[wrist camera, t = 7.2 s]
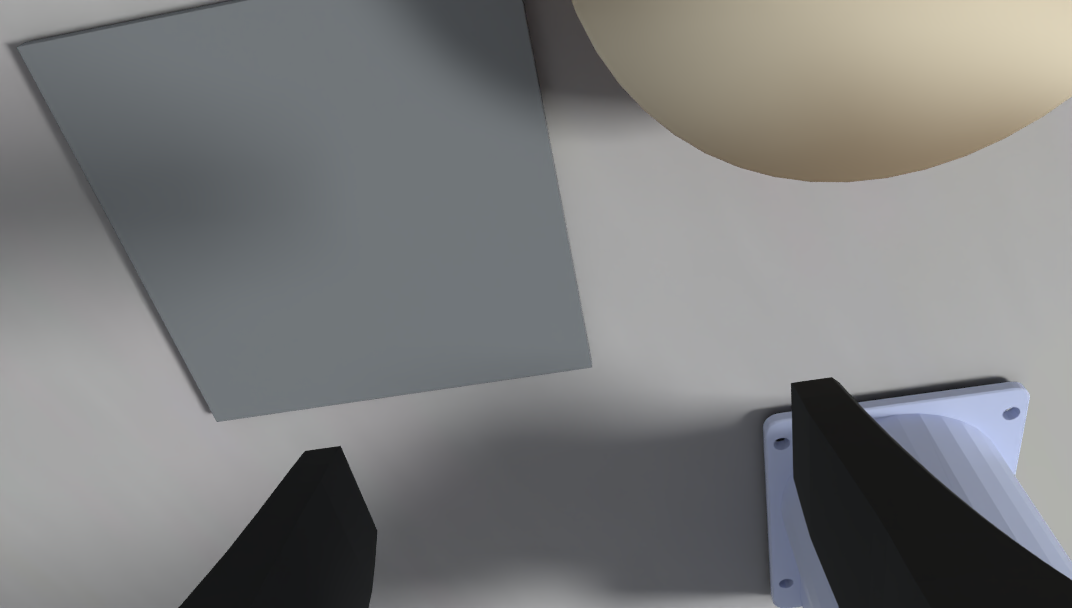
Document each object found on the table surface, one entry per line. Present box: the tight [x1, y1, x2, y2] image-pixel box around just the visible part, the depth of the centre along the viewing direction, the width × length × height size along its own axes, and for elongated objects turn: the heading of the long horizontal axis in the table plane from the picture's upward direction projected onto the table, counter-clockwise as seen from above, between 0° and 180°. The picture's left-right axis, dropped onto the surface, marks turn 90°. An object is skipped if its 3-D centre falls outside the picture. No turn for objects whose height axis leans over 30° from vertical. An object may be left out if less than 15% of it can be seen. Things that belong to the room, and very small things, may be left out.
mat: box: [17, 0, 592, 422], centre depth 22 cm, size 12×12×1 cm
